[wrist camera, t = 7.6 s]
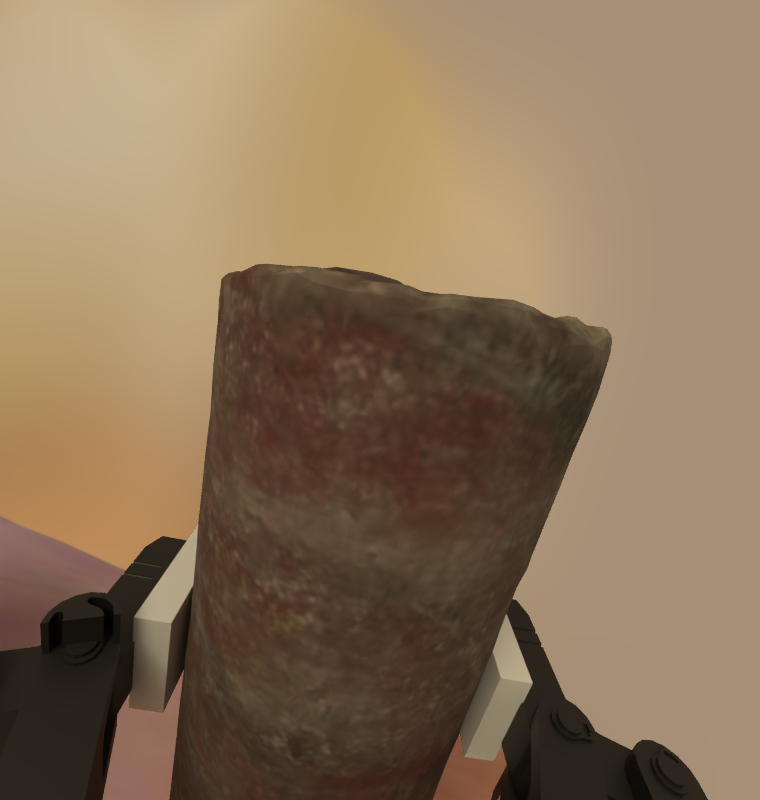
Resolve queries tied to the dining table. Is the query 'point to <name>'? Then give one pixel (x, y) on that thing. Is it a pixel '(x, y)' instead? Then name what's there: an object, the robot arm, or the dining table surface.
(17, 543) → the dining table surface
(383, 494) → the brown rough cylinder
